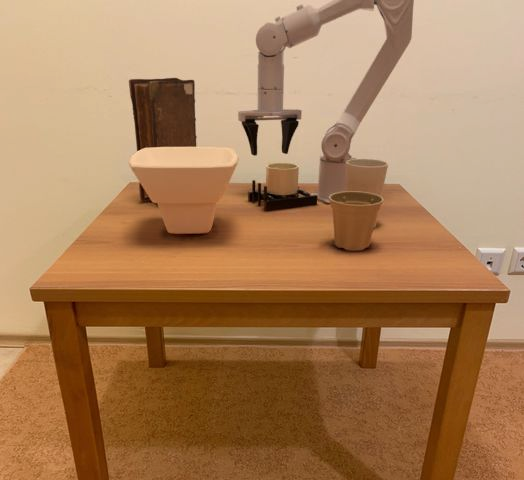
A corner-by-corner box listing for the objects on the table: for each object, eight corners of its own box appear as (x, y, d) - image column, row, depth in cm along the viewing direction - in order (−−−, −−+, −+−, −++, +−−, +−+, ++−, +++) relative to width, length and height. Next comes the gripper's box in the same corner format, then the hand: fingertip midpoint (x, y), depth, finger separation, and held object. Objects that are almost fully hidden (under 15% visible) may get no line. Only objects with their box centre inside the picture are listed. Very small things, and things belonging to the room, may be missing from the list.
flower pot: (345, 257, 87) (350, 207, 83) (315, 241, 94) (318, 194, 90) (388, 249, 91) (395, 200, 87) (356, 234, 98) (361, 188, 94)
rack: (296, 195, 124) (297, 174, 121) (317, 205, 116) (318, 182, 114) (247, 201, 119) (247, 178, 116) (265, 211, 111) (266, 188, 109)
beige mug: (303, 193, 115) (304, 167, 112) (274, 196, 112) (274, 170, 109) (281, 182, 123) (282, 159, 120) (254, 185, 121) (254, 161, 118)
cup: (387, 224, 104) (396, 162, 98) (366, 233, 99) (373, 168, 93) (355, 216, 109) (361, 157, 103) (332, 224, 104) (337, 162, 98)
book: (187, 188, 128) (180, 76, 116) (209, 192, 125) (204, 77, 112) (137, 202, 117) (123, 79, 104) (159, 207, 113) (148, 80, 100)
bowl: (241, 246, 92) (240, 165, 85) (132, 248, 91) (121, 166, 83) (238, 216, 108) (237, 146, 101) (145, 217, 107) (137, 146, 99)
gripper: (244, 90, 107) (245, 158, 114) (308, 89, 111) (305, 155, 118) (234, 88, 112) (236, 153, 119) (295, 87, 117) (293, 150, 124)
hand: (269, 154), depth 119 cm, fingers open, 7 cm apart
